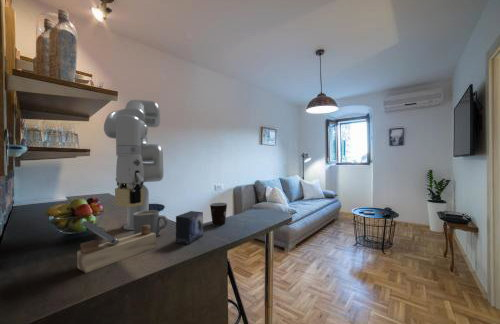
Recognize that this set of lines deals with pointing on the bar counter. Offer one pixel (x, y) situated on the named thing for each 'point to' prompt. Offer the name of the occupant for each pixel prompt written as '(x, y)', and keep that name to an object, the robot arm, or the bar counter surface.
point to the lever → (100, 232)
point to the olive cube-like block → (126, 197)
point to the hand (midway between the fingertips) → (129, 201)
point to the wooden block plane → (114, 250)
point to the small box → (189, 227)
